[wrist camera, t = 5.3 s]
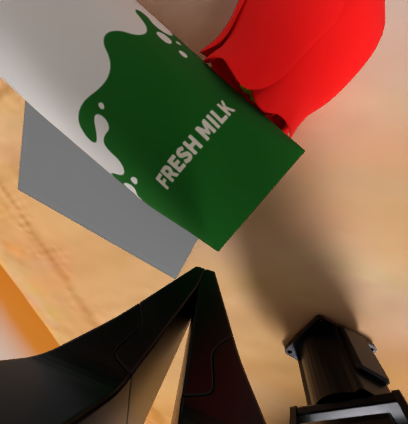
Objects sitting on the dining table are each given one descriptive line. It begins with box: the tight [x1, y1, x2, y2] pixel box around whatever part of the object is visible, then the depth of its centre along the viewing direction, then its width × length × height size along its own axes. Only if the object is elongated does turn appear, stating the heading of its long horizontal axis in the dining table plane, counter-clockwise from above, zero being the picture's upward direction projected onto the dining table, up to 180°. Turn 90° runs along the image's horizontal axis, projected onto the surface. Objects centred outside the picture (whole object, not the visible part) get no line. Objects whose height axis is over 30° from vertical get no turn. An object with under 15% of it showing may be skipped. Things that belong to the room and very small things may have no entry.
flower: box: [200, 0, 385, 138], centre depth 12 cm, size 8×8×8 cm
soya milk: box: [0, 0, 305, 251], centre depth 14 cm, size 9×9×20 cm
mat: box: [18, 101, 198, 279], centre depth 21 cm, size 16×22×1 cm
